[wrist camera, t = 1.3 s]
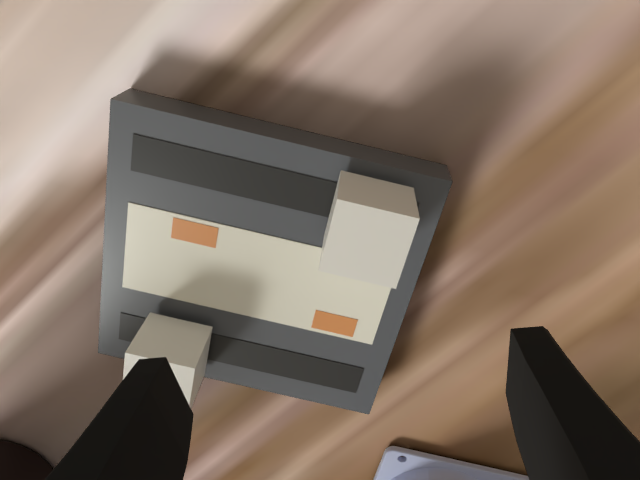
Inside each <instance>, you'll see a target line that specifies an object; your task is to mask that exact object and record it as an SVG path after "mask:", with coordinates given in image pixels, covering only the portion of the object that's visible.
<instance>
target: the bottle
mask: <svg viewBox="0 0 640 480" xmlns="http://www.w3.org/2000/svg"><path fill="white" fill-rule="evenodd" d="M52 471H53V469H52V467H51V466H50V464H49V463H48V462H46V461H45V460H44V459H43V458H42V457H41V456H40V455H38V454H37V453H35V452H33V451H32V450H30V449H28V448H26V447H24V446H22V445H19V444H15V443H12V442H9V441H2V440H0V480H45V479H46V478H47V477H48V476H49V474H50V473H51V472H52Z"/></svg>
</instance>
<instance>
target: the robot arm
mask: <svg viewBox="0 0 640 480" xmlns="http://www.w3.org/2000/svg"><path fill="white" fill-rule="evenodd" d="M506 397H507V401H508V406H509V410H510V415H511V420H512V424H513V428H514V433H515V437H516V441H517V444H518V447H519V450H520V453H521V456H522V459H523V462H524V465H525V468H526V471H527V474H528V476H526V475H521V474H517V473H513V472H508V471H504V470H499V469H495V468H490V467H486V466H482V465H477V464H473V463H468V462H464V461H459V460H455V459H451V458H446V457H442V456H437V455H433V454H428V453H424V452H419V451H415V450H411V449H406V448H402V447H397V446H389V447H388V448H386V449H385V451H384V454H383V456H382V459H381V461H380V464H379V467H378V469H377V472H376V474H375V477H374V479H373V480H640V442H639V440H638V439H637V438H636V437H635V436H634V435H633V434H632V433H631V432H630V431H629V430H628V429H627V427H626V426H625V425H624V424H623V423H622V422H621V421H620V420H619V418H618V417H617V416H616V415H615V414H614V413H613V412H612V410H611V409H610V408H609V407H608V406H607V405H606V404H605V402H604V401H603V400H602V399H601V398H600V397H599V396H598V394H597V393H596V392H595V391H594V390H593V388H592V387H591V386H590V385H589V384H588V382H587V381H586V380H585V379H584V377H583V376H582V375H581V374H580V372H579V371H578V370H577V369H576V368H575V366H574V365H573V364H572V362H571V361H570V360H569V359H568V357H567V356H566V355H565V353H564V352H563V351H562V349H561V348H560V347H559V345H558V344H557V343H556V341H555V340H554V338H553V337H552V336H551V334H550V333H549V331H548V330H547V329H545V328H544V327H543V326H539V327H527V328H515V329H511V333H510V345H509V358H508V370H507V383H506ZM192 422H193V412H192V410H191V408H190V406H189V404H188V402H187V400H186V398H185V396H184V394H183V392H182V389H181V387H180V385H179V383H178V381H177V379H176V377H175V375H174V373H173V371H172V369H171V366H170V364H169V362H168V360H167V358H166V357H159V358H147V359H139V360H138V361H137V362H136V364H135V365H134V366H133V367H132V369H131V370H130V371H129V373H128V374H127V375H126V377H125V378H124V379H123V381H122V382H121V383H120V385H119V386H118V387H117V389H116V390H115V391H114V393H113V394H112V395H111V397H110V398H109V399H108V401H107V402H106V403H105V405H104V406H103V407H102V409H101V410H100V411H99V413H98V414H97V415H96V417H95V418H94V419H93V421H92V422H91V423H90V425H89V426H88V427H87V428H86V430H85V431H84V432H83V434H82V435H81V436H80V437H79V439H78V440H77V441H76V443H75V444H74V445H73V446H72V448H71V449H70V450H69V452H68V453H67V454H66V455H65V456H64V458H63V459H62V460H61V461H60V463H59V464H58V465H57V466H56V467H55V468H54V470H53V471H52V472H51V473H50V474H49V476H48V477H47V478H46V479H45V480H183V477H184V473H185V469H186V465H187V460H188V453H189V447H190V439H191V431H192ZM400 456H404V457H400Z"/></svg>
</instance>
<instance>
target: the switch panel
mask: <svg viewBox="0 0 640 480" xmlns="http://www.w3.org/2000/svg"><path fill="white" fill-rule="evenodd" d="M341 170H342V171H346V172H350V173H355V174H359V175H363V176H367V177H371V178H375V179H379V180H384V181H388V182H392V183H396V184H400V185H404V186H409V187H413V188H414V192H415V197H416V202H417V207H418V212H419V217H420V220H419V223H418V226H417V229H416V232H415V235H414V237H413V240H412V243H411V246H410V249H409V252H408V255H407V258H406V261H405V264H404V267H403V270H402V273H401V276H400V279H399V281H398V284H397V287H396V289H394V288H389V287H385V286H381V285H377V284H372V283H368V282H364V281H360V280H355V279H351V278H347V277H343V276H338V275H334V274H330V273H325V272H321V271H318V270H319V264H320V258H321V251H322V245H323V239H324V234H325V230H326V226H327V222H328V218H329V214H330V210H331V206H332V202H333V199H334V195H335V191H336V187H337V183H338V179H339V175H340V171H341ZM452 182H453V181H452V179H451V176H450V173H449V171H448V168H447V166H446V165H443V164H439V163H435V162H431V161H427V160H423V159H419V158H414V157H410V156H406V155H402V154H398V153H394V152H390V151H386V150H382V149H377V148H373V147H369V146H365V145H361V144H357V143H353V142H349V141H344V140H340V139H336V138H332V137H328V136H324V135H320V134H316V133H311V132H307V131H303V130H299V129H295V128H291V127H287V126H283V125H279V124H274V123H270V122H266V121H262V120H258V119H254V118H250V117H246V116H241V115H237V114H233V113H229V112H225V111H221V110H217V109H213V108H208V107H204V106H200V105H196V104H192V103H188V102H184V101H180V100H175V99H171V98H167V97H163V96H159V95H155V94H151V93H147V92H143V91H138V90H134V89H128V90H126V91H124V92H122V93H121V94H119V95H117V96H115V97H113V98H111V102H110V122H109V142H108V162H107V183H106V203H105V223H104V243H103V263H102V283H101V303H100V324H99V344H98V353H101V354H105V355H110V356H114V357H119V358H123V359H125V352H126V350H127V349H128V347H129V345H130V344H131V342H132V340H133V339H134V337H135V336H136V334H137V332H138V331H139V329H140V328H141V326H142V324H143V323H144V321H145V319H146V318H147V316H148V315H149V313H155V314H159V315H164V316H168V317H172V318H177V319H181V320H185V321H190V322H194V323H198V324H203V325H207V326H211V327H213V328H212V334H211V340H210V346H209V352H208V358H207V364H206V370H205V376H204V377H207V378H211V379H216V380H220V381H224V382H229V383H233V384H238V385H242V386H246V387H251V388H255V389H260V390H264V391H268V392H273V393H277V394H282V395H286V396H290V397H295V398H299V399H304V400H308V401H313V402H317V403H321V404H326V405H330V406H335V407H339V408H343V409H348V410H352V411H357V412H361V413H365V414H369V413H370V410H371V408H372V405H373V402H374V399H375V396H376V394H377V391H378V388H379V385H380V382H381V380H382V377H383V374H384V371H385V369H386V366H387V363H388V360H389V357H390V355H391V352H392V349H393V346H394V343H395V341H396V338H397V335H398V332H399V329H400V327H401V324H402V321H403V318H404V316H405V313H406V310H407V307H408V304H409V302H410V299H411V296H412V293H413V290H414V288H415V285H416V282H417V279H418V277H419V274H420V271H421V268H422V265H423V263H424V260H425V257H426V254H427V251H428V249H429V246H430V243H431V240H432V238H433V235H434V232H435V229H436V226H437V224H438V221H439V218H440V215H441V212H442V210H443V207H444V204H445V201H446V199H447V196H448V193H449V190H450V187H451V185H452Z"/></svg>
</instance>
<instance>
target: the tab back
mask: <svg viewBox="0 0 640 480" xmlns="http://www.w3.org/2000/svg"><path fill="white" fill-rule="evenodd" d="M212 328H213V327H211V326H207V325H203V324H198V323H194V322H190V321H185V320H181V319H177V318H172V317H168V316H164V315H159V314H155V313H149V315H148V316H147V318H146V319H145V321H144V323H143V324H142V326H141V328H140V329H139V331H138V332H137V334H136V336H135V337H134V339H133V340H132V342H131V344H130V345H129V347H128V349H127V350H126V352H125V359H124V371H123V379H124V378H125V377H126V375H127V374H128V373H129V371H130V370H131V369H132V367H133V366H134V365H135V364H136V362H137V361H138V360H139V359H147V358H159V357H166V358H167V360H168V362H169V364H170V366H171V369H172V371H173V373H174V375H175V377H176V379H177V381H178V383H179V385H180V387H181V389H182V392H183V394H184V396H185V398H186V400H187V402H188V404H189V406H190V408H191V409H192V406H193V403H194V401H195V398H196V396H197V393H198V391H199V388H200V386H201V383H202V381H203V378H204V376H205V370H206V364H207V358H208V352H209V346H210V340H211V334H212Z"/></svg>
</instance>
